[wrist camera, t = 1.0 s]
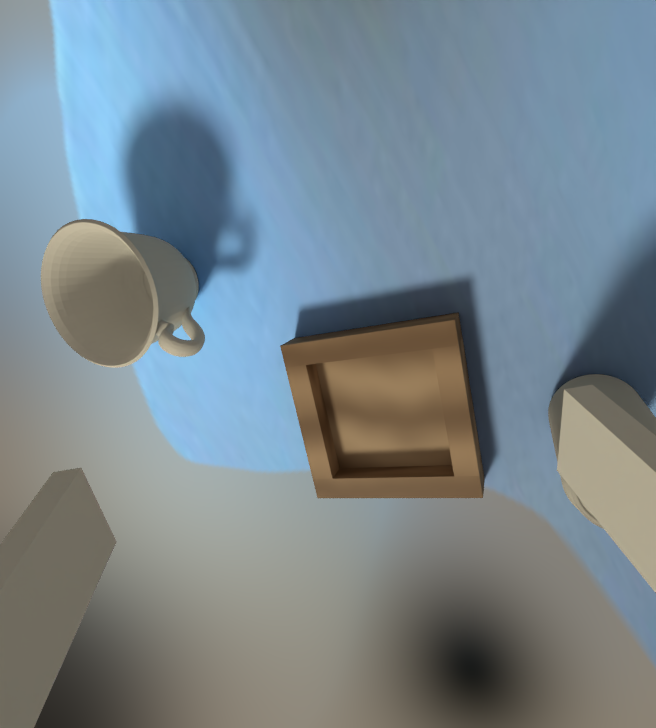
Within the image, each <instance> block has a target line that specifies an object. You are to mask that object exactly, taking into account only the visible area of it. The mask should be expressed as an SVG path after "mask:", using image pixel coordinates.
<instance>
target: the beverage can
mask: <svg viewBox="0 0 656 728" xmlns="http://www.w3.org/2000/svg"><path fill="white" fill-rule="evenodd" d="M587 385H593V386H595V387H596V388H597V389H598V390H600V391H601V392H602V393H603V394H605V395H606V396H607V397H608V398H610V399H611V400H612V401H613V402H615V403H616V404H617V405H618V406H619V407H621V408H622V409H623V410H624V411H626V412H627V413H628V414H629V415H631V416H632V417H633V418H634V419H636V420H637V421H638V422H639V423H641V424H642V425H643V426H644V427H646V428H647V429H648V430H649V431H651V432H652V433H653V434H654V435H655V436H656V417H655V416H654V415H653V413H652V412H651V411H650V409H649V408H648V407H647V405H646V404H645V403H644V402H643V400H642V399H641V398H640V396H639V395H638V394H637V392H636V391H635V390H634V389H633V388H632V387H631V386H630V385H628V384H627V383H626V382H624V381H622V380H620V379H618V378H615V377H612V376H608V375H602V374H591V375H584V376H580V377H577V378H574V379H572V380H570V381H568V382H567V383H565V384H564V385H562V386H561V387H560V388H559V389H558V390H557V391H556V393H555V394H554V395H553V397H552V399H551V401H550V405H549V409H548V416H549V423H550V428H551V433H552V437H553V442H554V447H555V452H556V457H557V461H558V454H559V442H560V431H561V419H562V407H563V396H564V389H569V388H575V387H581V386H587ZM560 476H561V475H560ZM561 480H562V485H563V488H564V491H565V493H566V495H567V497H568V498H569V500H570V501H571V502H572V504H573V505H574V506H575V507H576V508H577V509H578V510H579V511H580V512H581V513H582V514H583V515H584V516H585V517H586V518H587V519H588V520H589V521H591V522H592V523H594V524H595V525H597V526H599V527H601V528H603V527H602V526H601V524H600V523H599V522H598V521H597V519H596V518H595V517H594V516H593V514H592V513H591V512H590V511H589V510H588V508H587V507H586V506H585V505H584V503H583V502H582V501H581V500H580V498H579V497H578V496H577V495H576V493H575V492H574V491H573V490H572V488H571V487H570V486H569V485H568V483H567V482H566V481H565V480H564V479H563V477H562V476H561ZM603 529H604V528H603Z"/></svg>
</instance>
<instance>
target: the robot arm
mask: <svg viewBox="0 0 656 728" xmlns="http://www.w3.org/2000/svg"><path fill="white" fill-rule="evenodd" d="M557 471H558V472H559V474H560V475H561V476H562V477H563V479H564V480H565V481H566V482H567V483H568V485H569V486H570V487H571V488H572V490H573V491H574V492H575V493H576V495H577V496H578V497H579V498H580V500H581V501H582V502H583V503H584V505H585V506H586V507H587V508H588V510H589V511H590V512H591V513H592V514H593V516H594V517H595V518H596V519H597V521H598V522H599V523H600V524H601V526H602V527H603V528H604V529H605V531H606V532H607V533H608V534H609V536H610V537H611V538H612V539H613V541H614V542H615V543H616V544H617V545H618V547H619V548H620V549H621V550H622V552H623V553H624V554H625V555H626V557H627V558H628V559H629V560H630V562H631V563H632V564H633V565H634V567H635V568H636V569H637V570H638V572H639V573H640V574H641V575H642V576H643V578H644V579H645V580H646V581H647V583H648V584H649V585H650V586H651V588H652V589H653V590H654V591H655V593H656V436H655V435H654V434H653V433H652V432H651V431H649V430H648V429H647V428H646V427H644V426H643V425H642V424H641V423H639V422H638V421H637V420H636V419H634V418H633V417H632V416H631V415H629V414H628V413H627V412H626V411H624V410H623V409H622V408H621V407H619V406H618V405H617V404H616V403H615V402H613V401H612V400H611V399H610V398H608V397H607V396H606V395H605V394H603V393H602V392H601V391H600V390H598V389H597V388H596V387H595V386H593V385H587V386H581V387H575V388H569V389H564V396H563V407H562V419H561V431H560V442H559V454H558V465H557ZM115 544H116V540H115V538H114V535H113V533H112V531H111V529H110V527H109V525H108V523H107V521H106V519H105V517H104V514H103V512H102V510H101V509H100V506H99V504H98V502H97V500H96V498H95V496H94V494H93V491H92V489H91V487H90V485H89V483H88V481H87V479H86V477H85V475H84V473H83V470H82V468H76V469H70V470H64V471H58V472H53V473H52V474H51V476H50V477H49V479H48V480H47V481H46V483H45V484H44V485H43V487H42V488H41V489H40V491H39V492H38V494H37V495H36V496H35V498H34V499H33V500H32V502H31V503H30V505H29V506H28V507H27V509H26V510H25V511H24V513H23V514H22V516H21V517H20V518H19V520H18V521H17V522H16V524H15V525H14V526H13V528H12V529H11V530H10V532H9V533H8V534H7V536H6V537H5V538H4V540H3V541H2V543H1V544H0V728H34V726H35V723H36V721H37V719H38V717H39V714H40V712H41V710H42V708H43V706H44V703H45V701H46V699H47V697H48V694H49V692H50V690H51V688H52V685H53V683H54V681H55V679H56V676H57V674H58V672H59V670H60V667H61V665H62V663H63V661H64V658H65V656H66V654H67V652H68V649H69V647H70V645H71V643H72V641H73V638H74V636H75V634H76V632H77V629H78V627H79V625H80V622H81V620H82V618H83V616H84V614H85V611H86V609H87V607H88V605H89V602H90V600H91V598H92V596H93V593H94V591H95V589H96V587H97V584H98V582H99V580H100V578H101V575H102V573H103V571H104V569H105V567H106V564H107V562H108V560H109V558H110V555H111V553H112V551H113V549H114V546H115Z"/></svg>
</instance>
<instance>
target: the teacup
mask: <svg viewBox="0 0 656 728" xmlns="http://www.w3.org/2000/svg"><path fill="white" fill-rule="evenodd" d="M41 287H42V293H43V298H44V302H45V305H46V308H47V311H48V313H49V315H50V318H51V320H52V322H53V324H54V326H55V327H56V329H57V330H58V332H59V334H60V335H61V336H62V338H63V339H64V340H65V341H66V342H67V344H68V345H69V346H71V348H72V349H73V350H74V351H76V352H77V353H78V354H79V355H81V356H82V357H84V358H85V359H87V360H89V361H91V362H93V363H95V364H98V365H101V366H105V367H123V366H127V365H130V364H132V363H134V362H136V361H137V360H139V359H140V358H141V357H142V356H143V355H144V354H145V353H146V351H147V350H148V348H149V347H150V345H151V344H152V343H154V342H156V341H158V340H159V345H160V347H161V348H162V349H163V350H164V351H166V352H167V353H169V354H172V355H174V356H179V357H187V356H192V355H194V354H196V353H198V352H199V351H200V350H201V348H202V346H203V344H204V341H205V335H204V332H203V330H202V328H201V327H200V326H199V324H198V323H197V322H196V321H195V320H194V319H193V318H192V316H191V311H192V309H193V306H194V303H195V300H196V297H197V294H198V289H199V284H198V278H197V274H196V272H195V270H194V268H193V266H192V265H191V263H190V262H189V261H188V260H187V259H186V258H184V256H183V255H182V254H181V253H180V252H179V251H178V250H177V249H176V248H175V247H173V246H172V245H171V244H169V243H168V242H166V241H164V240H161V239H159V238H156V237H152V236H147V235H142V234H135V233H127V232H120V231H118V230H117V229H116V228H114V227H112V226H110V225H109V224H106V223H103V222H101V221H97V220H92V219H81V220H75V221H72V222H69V223H67V224H66V225H64V226H62V227H61V228H60V229H59V230H58V231H57V232H56V233H55V234H54V235H53V237H52V238H51V240H50V242H49V244H48V246H47V248H46V251H45V253H44V258H43V261H42V268H41ZM181 325H182V326H183V329H184V330H185V332H186V333H187V334H188V336H189V337H190V338H191V340H182V339H179V338H176V337H175V336H173V335H172V334H173V331H175V330H176V329H178V328H179V327H180V326H181Z"/></svg>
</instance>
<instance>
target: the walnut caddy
mask: <svg viewBox="0 0 656 728" xmlns="http://www.w3.org/2000/svg"><path fill="white" fill-rule="evenodd" d="M280 347H281V351H282V355H283V359H284V363H285V367H286V371H287V375H288V379H289V383H290V387H291V391H292V396H293V400H294V404H295V408H296V412H297V416H298V420H299V424H300V428H301V432H302V436H303V440H304V444H305V449H306V453H307V457H308V461H309V465H310V469H311V473H312V476H313V481H314V485H315V489H316V493H317V497H318V498H483V491H484V481H485V479H484V472H483V466H482V460H481V453H480V447H479V440H478V434H477V428H476V421H475V415H474V408H473V402H472V395H471V389H470V383H469V376H468V370H467V363H466V357H465V351H464V344H463V338H462V331H461V325H460V319H459V313H453V314H446V315H440V316H434V317H427V318H421V319H414V320H408V321H401V322H395V323H388V324H382V325H376V326H369V327H363V328H356V329H350V330H343V331H337V332H330V333H324V334H318V335H311V336H305V337H298V338H294V339H292V340H290V341H288V342H287V343H285V344H283V345H281V346H280Z"/></svg>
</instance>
